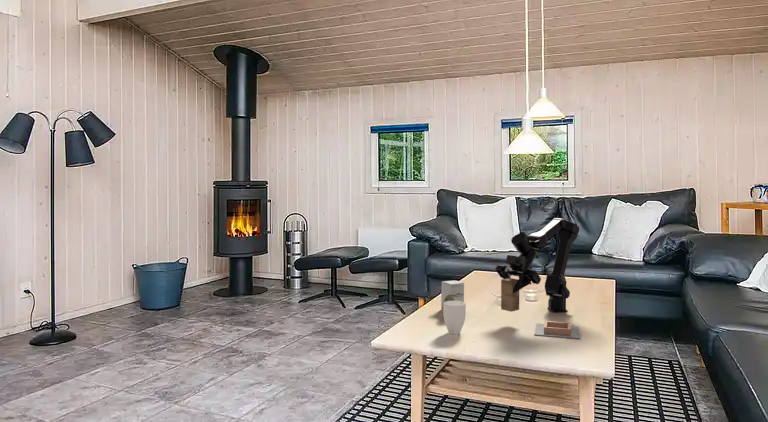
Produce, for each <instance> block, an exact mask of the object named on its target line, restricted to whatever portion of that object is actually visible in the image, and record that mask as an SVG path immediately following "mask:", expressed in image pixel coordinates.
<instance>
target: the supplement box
mask: <svg viewBox="0 0 768 422" xmlns="http://www.w3.org/2000/svg"><path fill="white" fill-rule="evenodd" d="M440 293H441V300H440V301H441V302H440V303H441V304H440V306H441V307H440V308H441V310H442V307H443V302H444V299H445V297H446V296H447V295H449V294H450V295H452V296H453V297H454V299H455V301H462V302H465V301H464V300H465V282H463V281H459V280H456V279H455V280H444V281H441V292H440Z"/></svg>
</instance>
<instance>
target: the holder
mask: <svg viewBox="0 0 768 422" xmlns="http://www.w3.org/2000/svg"><path fill="white" fill-rule="evenodd" d="M534 329H535V330H534V333H533V335H534V336H535V337H536V336H537V337H538V336H539V337H549V338H550V337H551V338H559V339H574V340H581V330H580V326H579V325H572V324H571V322H563V321H551V320H550V321H549V320H545V321H544V322H543V323H541V322H540V323H539V322H536V324H535V328H534Z"/></svg>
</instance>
